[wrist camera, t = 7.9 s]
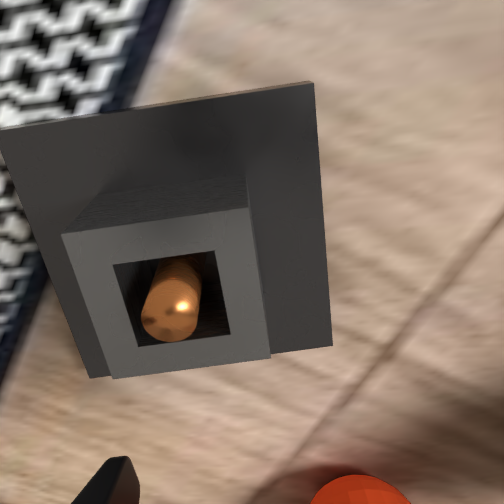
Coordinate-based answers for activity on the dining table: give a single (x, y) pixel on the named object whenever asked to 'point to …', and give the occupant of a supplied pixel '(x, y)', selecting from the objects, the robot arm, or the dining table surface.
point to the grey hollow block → (165, 245)
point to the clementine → (358, 492)
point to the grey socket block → (183, 170)
